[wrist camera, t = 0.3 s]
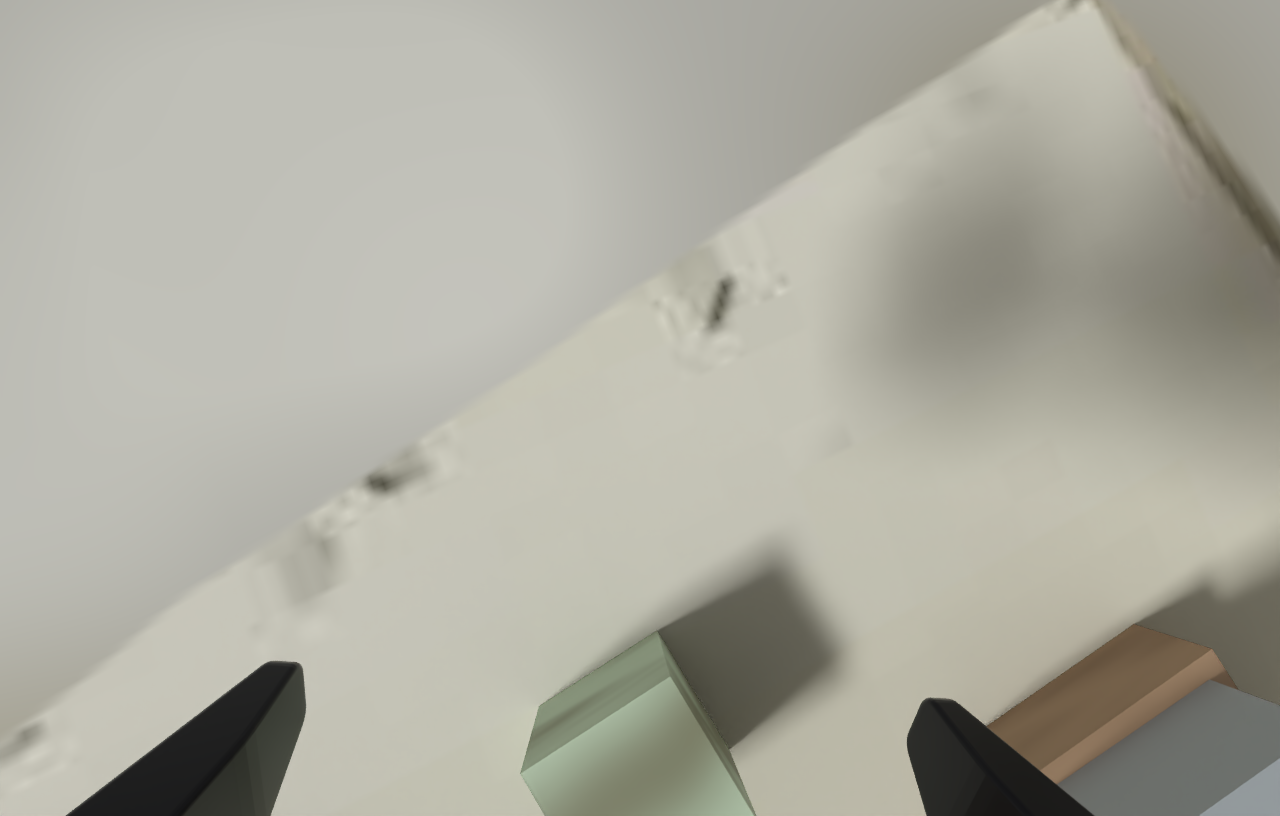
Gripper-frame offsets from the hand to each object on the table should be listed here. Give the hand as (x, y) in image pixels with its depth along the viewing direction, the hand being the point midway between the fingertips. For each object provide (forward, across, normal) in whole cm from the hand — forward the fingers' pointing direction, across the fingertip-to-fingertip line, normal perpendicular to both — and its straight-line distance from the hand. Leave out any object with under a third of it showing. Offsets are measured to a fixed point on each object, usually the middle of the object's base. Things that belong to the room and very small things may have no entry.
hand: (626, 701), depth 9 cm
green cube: (+10, -2, +12) cm, 16 cm away
